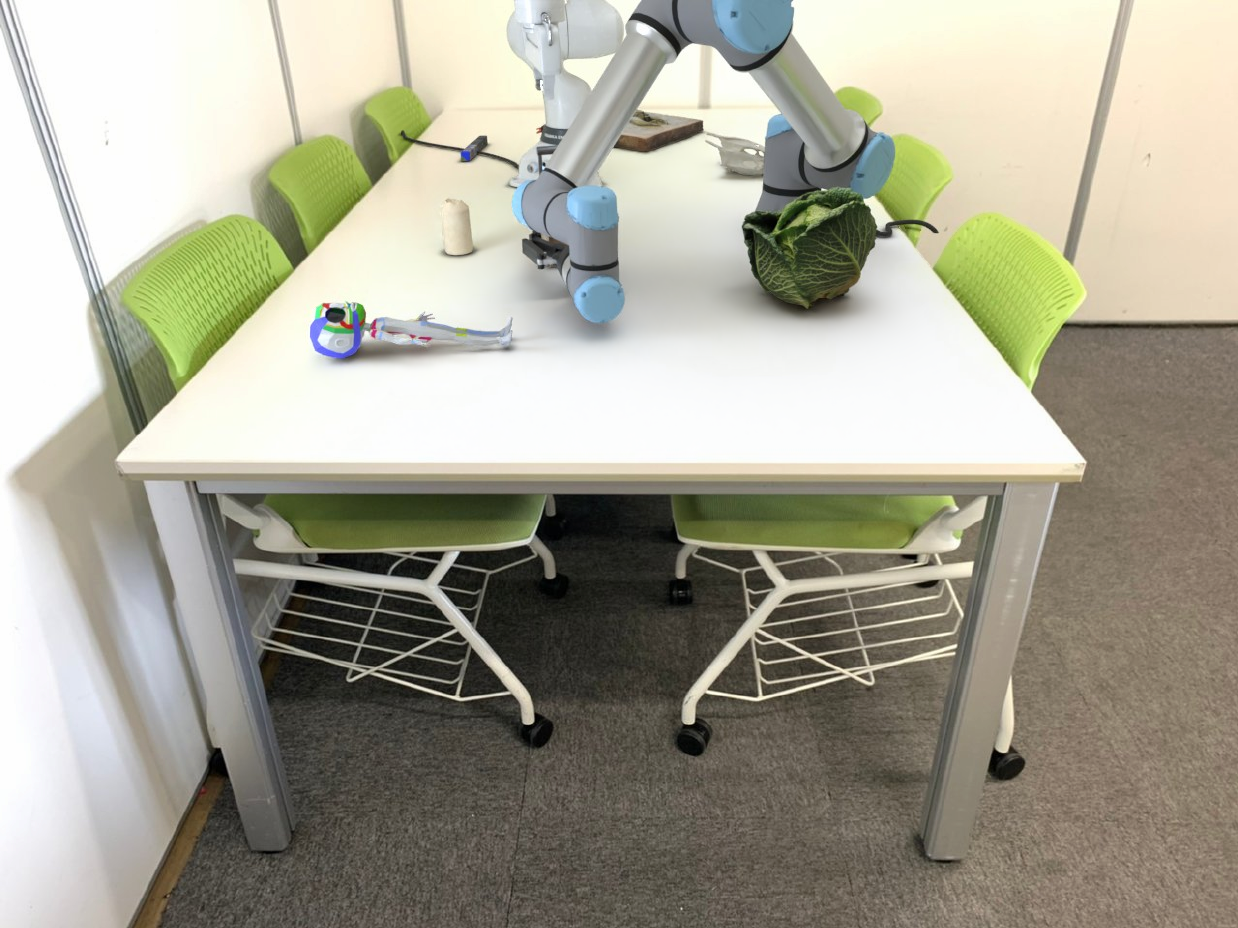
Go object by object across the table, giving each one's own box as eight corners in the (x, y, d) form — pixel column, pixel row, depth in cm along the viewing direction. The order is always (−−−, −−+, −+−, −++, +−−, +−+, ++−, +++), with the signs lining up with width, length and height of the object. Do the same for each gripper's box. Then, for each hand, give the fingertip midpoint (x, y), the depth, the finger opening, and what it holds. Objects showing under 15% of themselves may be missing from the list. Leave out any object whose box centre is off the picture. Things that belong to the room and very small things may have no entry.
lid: (533, 188, 176) (530, 143, 171) (560, 186, 177) (558, 141, 172) (547, 212, 162) (544, 164, 158) (575, 210, 163) (574, 162, 159)
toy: (513, 328, 132) (301, 311, 127) (509, 379, 136) (304, 364, 132) (513, 302, 141) (314, 285, 136) (509, 351, 145) (317, 336, 140)
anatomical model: (707, 129, 226) (808, 127, 222) (707, 166, 231) (805, 165, 227) (703, 143, 213) (809, 141, 210) (703, 182, 218) (807, 181, 215)
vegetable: (769, 324, 161) (717, 226, 153) (855, 264, 162) (809, 164, 154) (822, 342, 142) (766, 232, 135) (919, 274, 144) (869, 162, 136)
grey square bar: (487, 135, 252) (468, 152, 235) (487, 143, 253) (469, 161, 236) (479, 135, 252) (460, 152, 235) (480, 143, 253) (461, 161, 236)
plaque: (647, 125, 237) (559, 112, 252) (647, 153, 241) (560, 139, 256) (706, 107, 258) (622, 97, 273) (705, 133, 262) (622, 121, 277)
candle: (478, 247, 177) (472, 197, 172) (465, 256, 173) (459, 205, 168) (453, 245, 179) (447, 194, 174) (439, 254, 174) (433, 202, 169)
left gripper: (568, 16, 149) (571, 104, 156) (548, 4, 166) (552, 84, 173) (530, 17, 148) (536, 106, 155) (514, 5, 165) (520, 86, 172)
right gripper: (520, 297, 149) (503, 254, 168) (646, 285, 153) (617, 243, 172) (516, 254, 145) (500, 214, 164) (646, 242, 149) (616, 204, 168)
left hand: (544, 94), depth 164 cm, fingers open, 8 cm apart
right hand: (560, 229), depth 167 cm, fingers open, 9 cm apart
